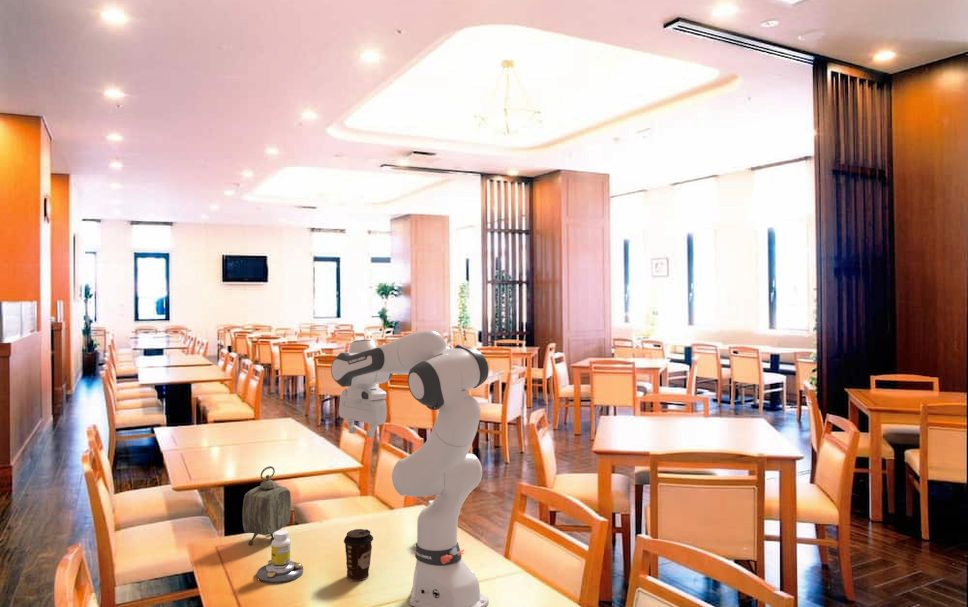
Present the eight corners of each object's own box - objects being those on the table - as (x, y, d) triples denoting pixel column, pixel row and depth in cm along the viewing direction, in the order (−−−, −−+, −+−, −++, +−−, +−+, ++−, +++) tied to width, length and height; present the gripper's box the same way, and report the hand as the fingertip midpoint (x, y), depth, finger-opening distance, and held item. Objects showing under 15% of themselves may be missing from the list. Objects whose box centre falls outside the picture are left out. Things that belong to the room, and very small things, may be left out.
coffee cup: (376, 571, 198) (377, 528, 198) (369, 583, 190) (369, 538, 190) (348, 570, 199) (348, 527, 199) (339, 581, 191) (340, 537, 191)
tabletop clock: (270, 532, 231) (271, 460, 230) (292, 535, 227) (293, 463, 227) (242, 546, 217) (242, 470, 217) (264, 550, 214) (265, 473, 214)
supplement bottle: (270, 563, 197) (271, 530, 197) (289, 560, 199) (289, 528, 199) (271, 570, 192) (272, 536, 192) (291, 567, 194) (291, 534, 194)
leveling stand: (311, 573, 196) (311, 565, 196) (271, 587, 187) (271, 578, 187) (288, 561, 205) (288, 553, 205) (248, 574, 195) (249, 565, 195)
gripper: (334, 388, 212) (333, 432, 212) (373, 395, 198) (373, 441, 198) (350, 387, 216) (349, 429, 216) (390, 393, 202) (389, 438, 202)
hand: (361, 435), depth 207 cm, fingers open, 8 cm apart
